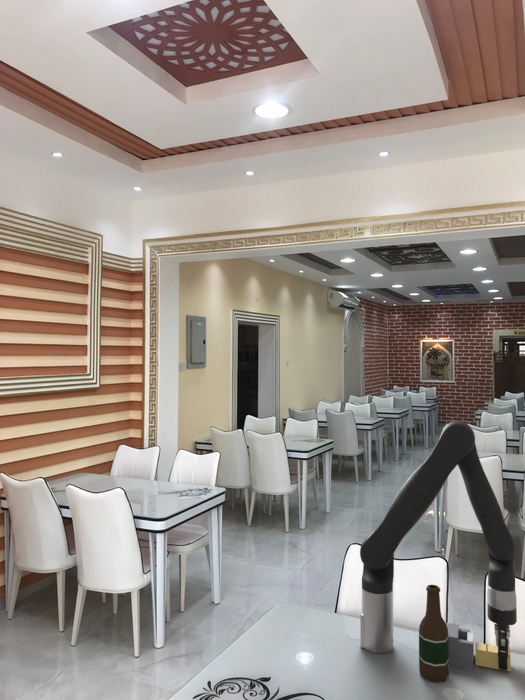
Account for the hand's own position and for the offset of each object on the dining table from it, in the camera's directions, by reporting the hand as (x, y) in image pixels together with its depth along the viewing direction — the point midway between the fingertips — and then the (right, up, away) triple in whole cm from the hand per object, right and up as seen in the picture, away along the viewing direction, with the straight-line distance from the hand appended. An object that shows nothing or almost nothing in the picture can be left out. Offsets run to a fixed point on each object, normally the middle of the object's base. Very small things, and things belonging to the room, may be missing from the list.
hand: (502, 664), depth 153 cm
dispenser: (-13, -1, +5) cm, 14 cm away
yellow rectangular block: (-2, -1, +1) cm, 3 cm away
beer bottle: (-20, -1, -4) cm, 21 cm away
